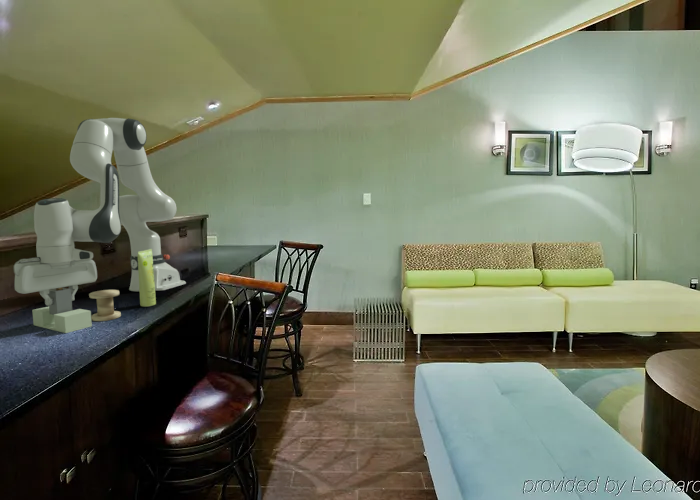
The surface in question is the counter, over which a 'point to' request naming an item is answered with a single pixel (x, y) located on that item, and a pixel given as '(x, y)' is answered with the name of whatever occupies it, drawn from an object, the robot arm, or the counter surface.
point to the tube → (146, 278)
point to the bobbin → (105, 305)
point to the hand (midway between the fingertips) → (60, 302)
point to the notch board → (62, 319)
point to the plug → (60, 300)
